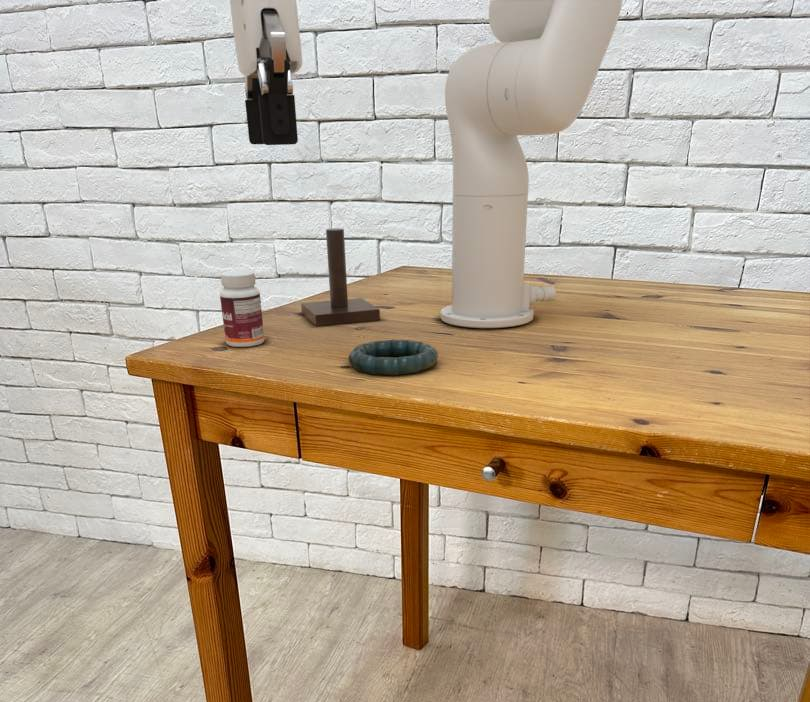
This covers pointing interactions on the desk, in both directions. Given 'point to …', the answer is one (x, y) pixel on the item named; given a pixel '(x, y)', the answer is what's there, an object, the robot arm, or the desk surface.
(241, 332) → the pill bottle
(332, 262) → the post
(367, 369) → the ring
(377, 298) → the desk surface
